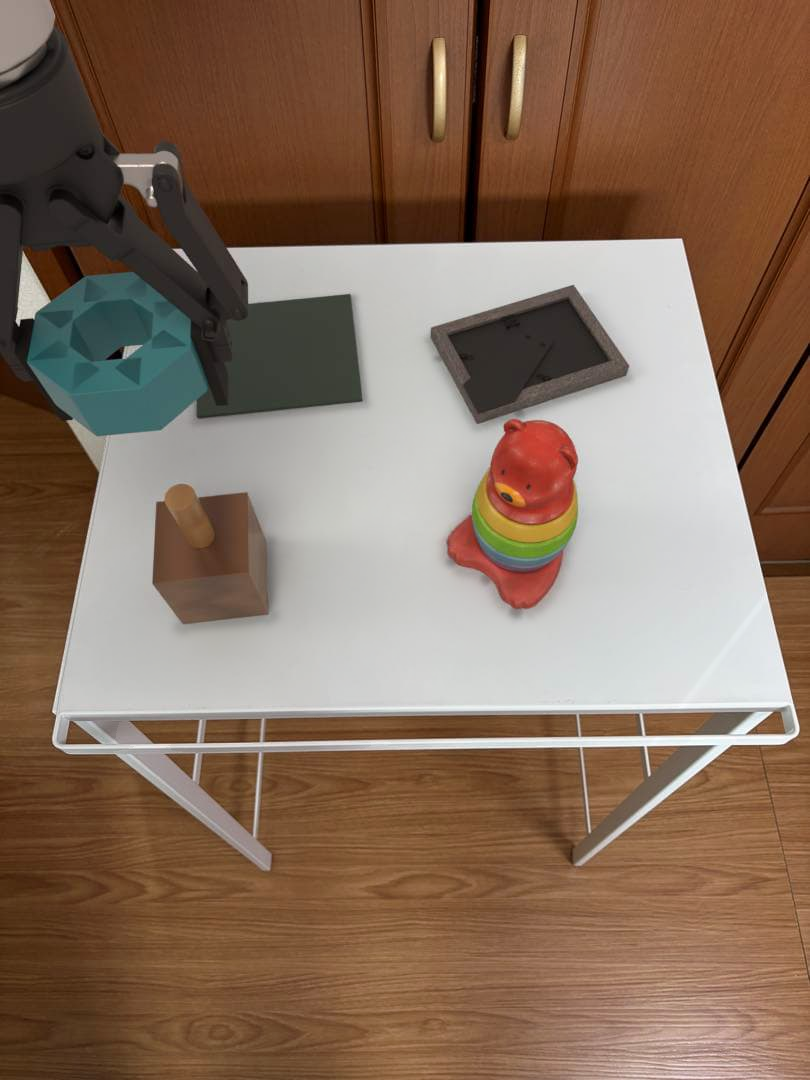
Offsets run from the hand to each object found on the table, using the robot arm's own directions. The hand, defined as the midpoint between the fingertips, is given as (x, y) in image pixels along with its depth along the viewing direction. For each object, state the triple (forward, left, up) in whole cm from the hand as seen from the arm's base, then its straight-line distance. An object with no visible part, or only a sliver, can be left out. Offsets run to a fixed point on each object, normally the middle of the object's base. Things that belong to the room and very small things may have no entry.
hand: (146, 397), depth 50 cm
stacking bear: (+28, -2, -25) cm, 37 cm away
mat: (+6, +26, -25) cm, 37 cm away
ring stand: (0, -2, -25) cm, 25 cm away
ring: (0, 0, +2) cm, 2 cm away
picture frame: (+34, +22, -25) cm, 48 cm away
